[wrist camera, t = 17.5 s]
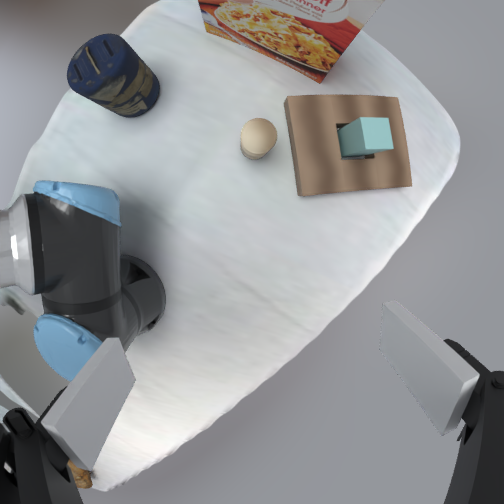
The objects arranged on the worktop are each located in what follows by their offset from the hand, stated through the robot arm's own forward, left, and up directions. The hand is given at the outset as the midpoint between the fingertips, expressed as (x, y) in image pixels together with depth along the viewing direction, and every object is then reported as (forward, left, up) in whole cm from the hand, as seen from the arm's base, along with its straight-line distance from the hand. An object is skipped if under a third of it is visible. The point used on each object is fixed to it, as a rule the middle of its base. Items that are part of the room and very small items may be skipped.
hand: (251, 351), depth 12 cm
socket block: (+19, +13, -35) cm, 42 cm away
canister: (-16, +28, -35) cm, 48 cm away
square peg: (+19, +13, -35) cm, 42 cm away
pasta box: (+9, +35, -35) cm, 50 cm away
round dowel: (+3, +14, -35) cm, 37 cm away
